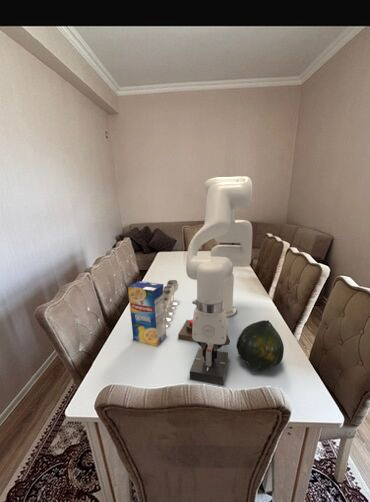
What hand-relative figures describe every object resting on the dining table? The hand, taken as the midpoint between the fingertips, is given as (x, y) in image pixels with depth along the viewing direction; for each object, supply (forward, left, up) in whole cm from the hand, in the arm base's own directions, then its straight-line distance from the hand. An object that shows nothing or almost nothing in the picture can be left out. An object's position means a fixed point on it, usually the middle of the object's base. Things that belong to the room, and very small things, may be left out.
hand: (210, 358), depth 78 cm
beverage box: (-12, -26, -4) cm, 29 cm away
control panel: (0, 0, -4) cm, 4 cm away
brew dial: (0, 0, -1) cm, 1 cm away
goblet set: (-34, -26, -4) cm, 43 cm away
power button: (-20, -10, 0) cm, 22 cm away
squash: (-8, +15, -4) cm, 17 cm away
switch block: (-20, -10, -4) cm, 23 cm away
